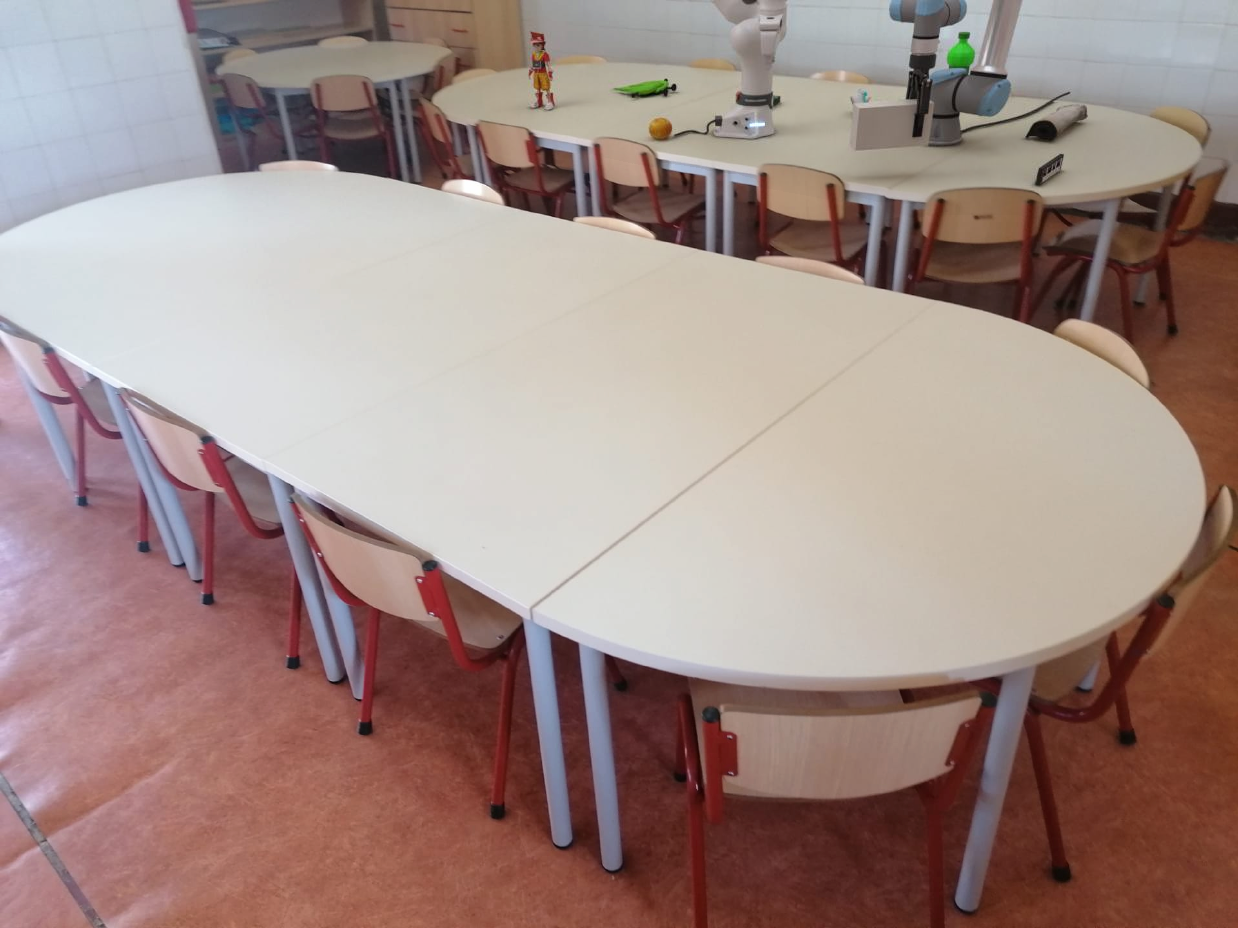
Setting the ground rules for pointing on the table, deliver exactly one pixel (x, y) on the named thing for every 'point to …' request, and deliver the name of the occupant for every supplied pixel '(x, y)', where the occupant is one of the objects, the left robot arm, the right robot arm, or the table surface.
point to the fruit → (660, 128)
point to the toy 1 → (541, 71)
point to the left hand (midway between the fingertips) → (770, 66)
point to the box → (887, 125)
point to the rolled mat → (1057, 122)
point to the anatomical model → (860, 97)
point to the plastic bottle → (961, 53)
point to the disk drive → (776, 100)
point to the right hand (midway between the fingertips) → (913, 133)
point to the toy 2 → (648, 88)
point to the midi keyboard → (1049, 169)
